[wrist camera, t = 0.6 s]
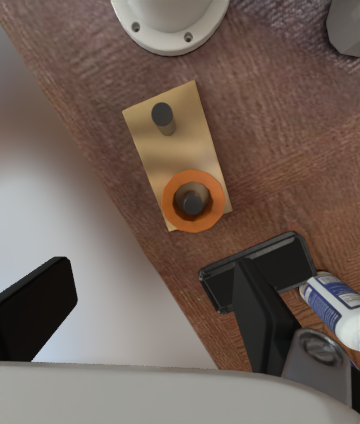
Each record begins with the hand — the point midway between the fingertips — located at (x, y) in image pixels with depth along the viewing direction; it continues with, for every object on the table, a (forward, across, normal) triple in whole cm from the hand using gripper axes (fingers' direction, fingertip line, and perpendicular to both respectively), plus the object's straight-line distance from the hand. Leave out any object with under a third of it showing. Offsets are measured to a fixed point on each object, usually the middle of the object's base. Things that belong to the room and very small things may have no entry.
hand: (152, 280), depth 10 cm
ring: (+14, -3, -2) cm, 15 cm away
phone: (+15, -12, +9) cm, 21 cm away
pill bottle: (+14, -21, +11) cm, 28 cm away
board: (+15, -1, -6) cm, 16 cm away
